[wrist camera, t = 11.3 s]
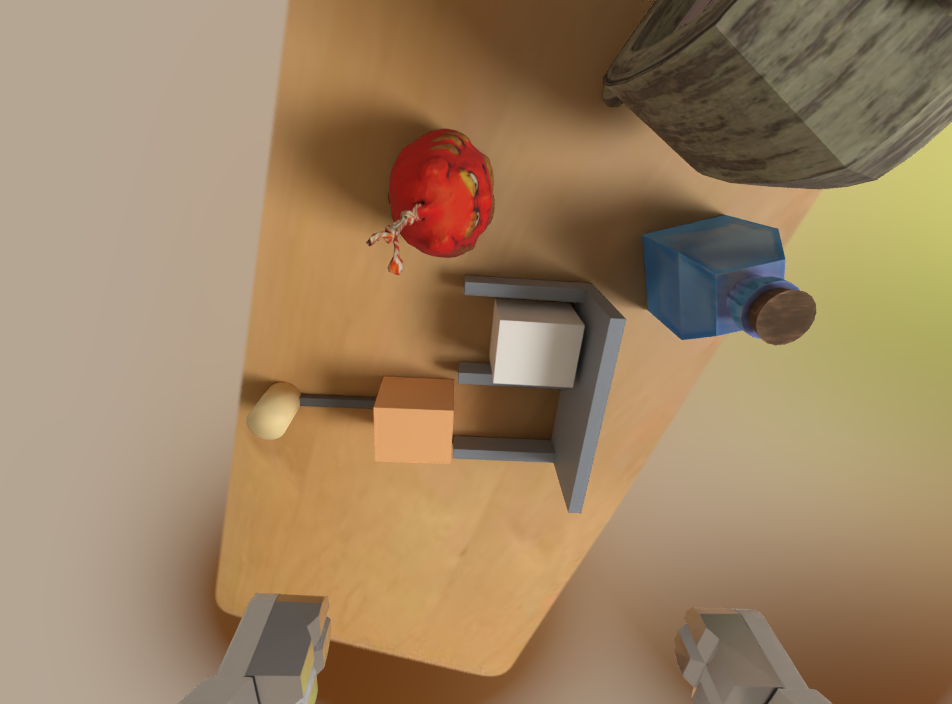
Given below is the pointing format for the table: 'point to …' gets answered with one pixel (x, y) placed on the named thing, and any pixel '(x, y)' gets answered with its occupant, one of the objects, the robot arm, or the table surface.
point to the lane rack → (575, 405)
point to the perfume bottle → (723, 281)
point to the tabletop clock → (790, 85)
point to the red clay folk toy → (439, 196)
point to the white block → (535, 343)
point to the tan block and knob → (376, 416)
